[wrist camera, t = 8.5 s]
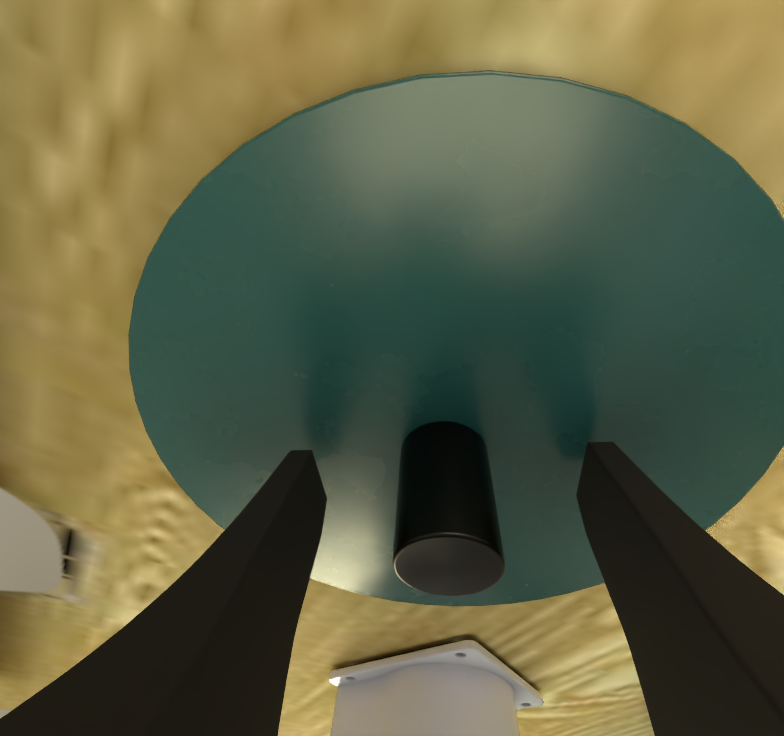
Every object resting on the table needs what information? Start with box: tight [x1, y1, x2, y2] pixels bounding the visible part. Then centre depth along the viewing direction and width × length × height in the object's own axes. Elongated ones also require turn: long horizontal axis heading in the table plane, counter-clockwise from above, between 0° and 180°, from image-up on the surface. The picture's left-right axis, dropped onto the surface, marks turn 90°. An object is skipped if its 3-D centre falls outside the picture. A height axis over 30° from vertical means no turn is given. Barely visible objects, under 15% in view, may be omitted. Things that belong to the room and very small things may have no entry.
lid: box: [129, 71, 784, 606], centre depth 11 cm, size 17×17×4 cm
